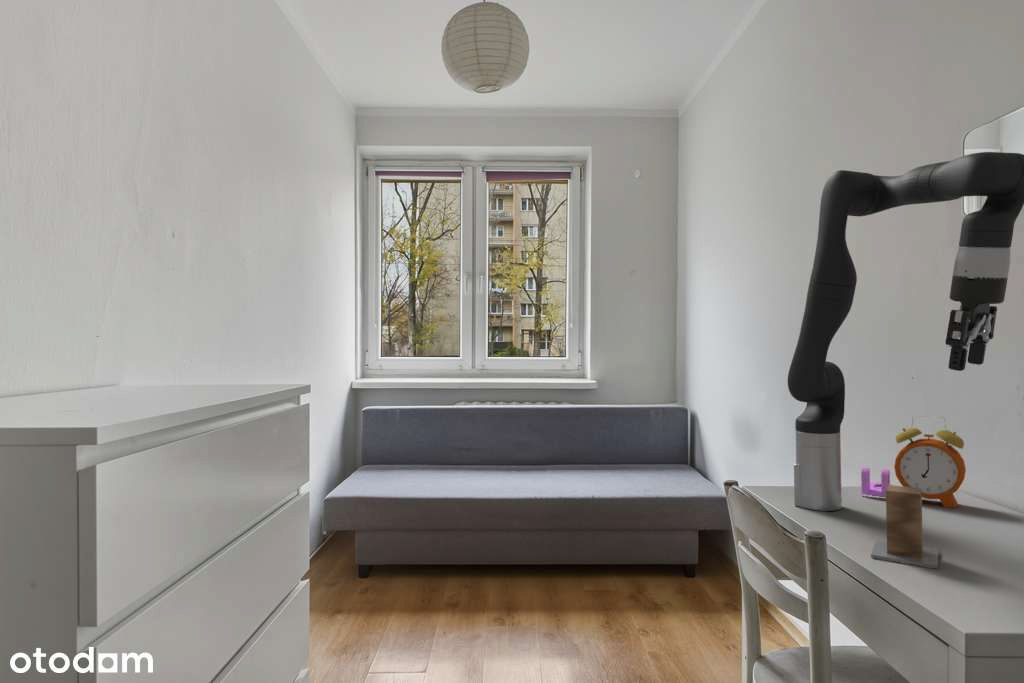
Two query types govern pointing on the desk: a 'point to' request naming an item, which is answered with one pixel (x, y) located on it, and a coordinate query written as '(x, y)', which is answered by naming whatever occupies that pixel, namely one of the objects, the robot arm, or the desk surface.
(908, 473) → the alarm clock
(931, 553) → the slate pad
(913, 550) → the walnut block
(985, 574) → the desk surface
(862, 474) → the bracket
